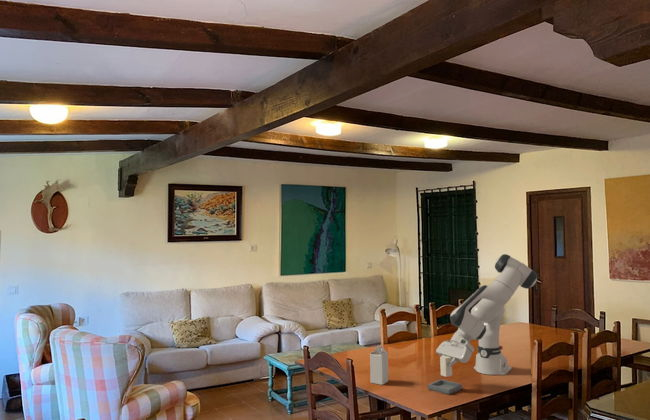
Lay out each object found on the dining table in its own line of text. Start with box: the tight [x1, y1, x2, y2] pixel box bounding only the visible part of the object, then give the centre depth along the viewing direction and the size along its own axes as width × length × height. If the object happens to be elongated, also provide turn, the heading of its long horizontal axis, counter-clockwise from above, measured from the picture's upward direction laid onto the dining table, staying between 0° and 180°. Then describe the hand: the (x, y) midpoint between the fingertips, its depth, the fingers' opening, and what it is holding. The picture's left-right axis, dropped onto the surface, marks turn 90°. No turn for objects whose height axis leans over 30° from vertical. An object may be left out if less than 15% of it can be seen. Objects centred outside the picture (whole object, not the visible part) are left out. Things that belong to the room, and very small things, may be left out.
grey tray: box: [427, 378, 463, 396], centre depth 246 cm, size 12×12×2 cm
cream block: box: [439, 356, 453, 378], centre depth 245 cm, size 4×4×9 cm
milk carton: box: [369, 344, 389, 386], centre depth 259 cm, size 7×7×19 cm
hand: (445, 365), depth 245 cm, fingers closed on cream block, 4 cm apart
